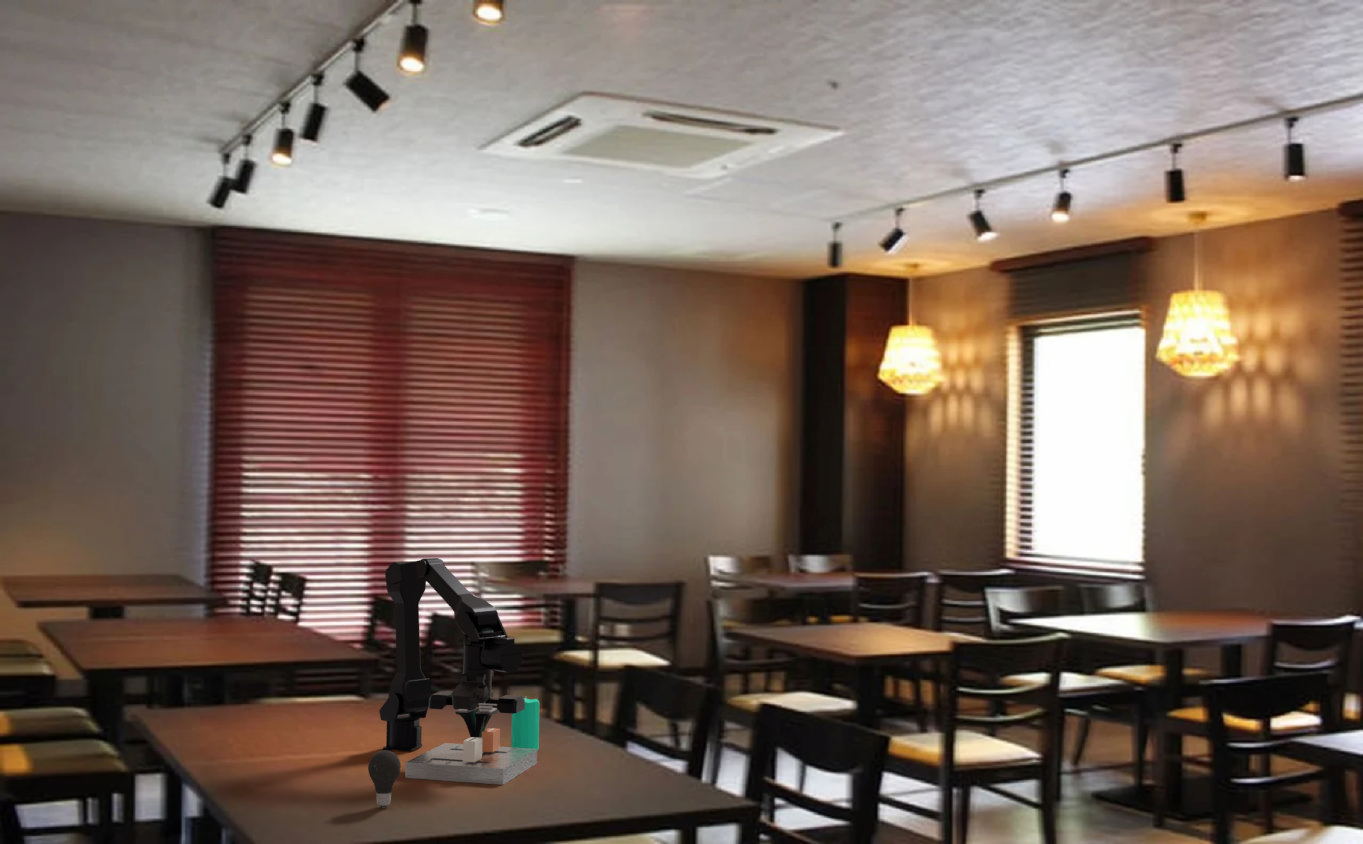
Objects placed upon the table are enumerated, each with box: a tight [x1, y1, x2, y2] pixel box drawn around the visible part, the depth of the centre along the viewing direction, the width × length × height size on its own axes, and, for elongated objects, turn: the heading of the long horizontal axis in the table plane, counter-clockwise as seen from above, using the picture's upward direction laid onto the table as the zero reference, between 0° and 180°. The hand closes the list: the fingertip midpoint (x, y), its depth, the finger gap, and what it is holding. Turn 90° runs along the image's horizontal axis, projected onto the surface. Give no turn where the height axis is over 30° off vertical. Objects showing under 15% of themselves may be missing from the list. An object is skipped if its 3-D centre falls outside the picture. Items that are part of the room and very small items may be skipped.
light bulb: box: [367, 750, 401, 809], centre depth 249 cm, size 6×6×10 cm
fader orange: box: [481, 727, 501, 753], centre depth 284 cm, size 2×4×7 cm, turn 167°
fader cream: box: [462, 737, 482, 763], centre depth 275 cm, size 2×4×7 cm, turn 168°
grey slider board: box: [404, 742, 538, 786], centre depth 280 cm, size 20×20×3 cm
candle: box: [510, 697, 540, 752], centre depth 302 cm, size 6×6×12 cm
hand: (475, 745), depth 285 cm, fingers closed
